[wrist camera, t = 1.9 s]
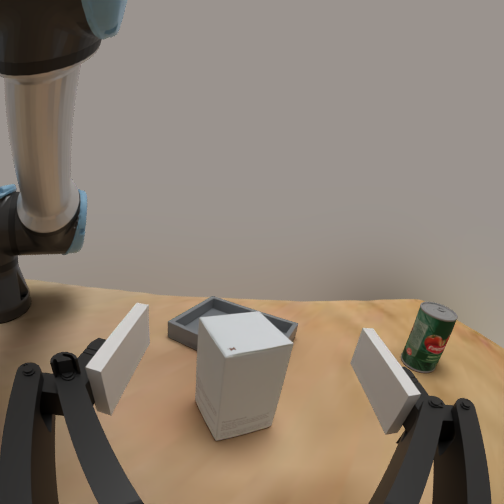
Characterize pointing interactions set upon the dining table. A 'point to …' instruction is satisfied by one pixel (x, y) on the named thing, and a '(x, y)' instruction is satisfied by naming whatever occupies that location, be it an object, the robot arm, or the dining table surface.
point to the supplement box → (239, 372)
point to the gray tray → (188, 322)
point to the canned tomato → (428, 337)
